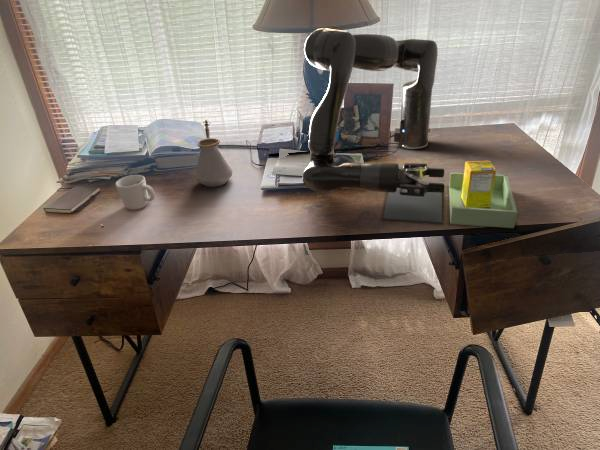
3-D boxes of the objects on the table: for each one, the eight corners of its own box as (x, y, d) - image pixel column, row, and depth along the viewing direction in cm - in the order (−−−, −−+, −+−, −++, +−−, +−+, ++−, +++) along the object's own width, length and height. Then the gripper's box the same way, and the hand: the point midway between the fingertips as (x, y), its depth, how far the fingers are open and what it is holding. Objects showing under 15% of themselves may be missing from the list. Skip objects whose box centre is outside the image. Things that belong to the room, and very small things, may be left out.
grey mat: (383, 219, 109) (383, 218, 109) (390, 183, 125) (390, 182, 125) (441, 223, 105) (441, 222, 105) (441, 186, 122) (441, 184, 121)
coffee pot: (235, 186, 131) (227, 139, 123) (196, 192, 130) (186, 144, 122) (231, 159, 149) (224, 116, 141) (197, 164, 148) (188, 121, 140)
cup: (165, 201, 127) (158, 176, 122) (149, 215, 120) (141, 189, 116) (134, 197, 130) (127, 173, 126) (117, 211, 124) (108, 185, 119)
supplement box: (483, 198, 114) (490, 159, 108) (489, 210, 108) (497, 170, 103) (460, 199, 114) (465, 160, 109) (465, 210, 109) (470, 170, 103)
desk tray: (450, 223, 105) (452, 207, 103) (449, 186, 121) (450, 172, 119) (513, 228, 101) (517, 211, 99) (503, 189, 117) (506, 174, 115)
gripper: (376, 176, 106) (445, 179, 102) (382, 153, 118) (445, 155, 114) (375, 202, 110) (442, 207, 106) (381, 178, 122) (442, 181, 118)
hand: (444, 180), depth 110 cm, fingers open, 8 cm apart
